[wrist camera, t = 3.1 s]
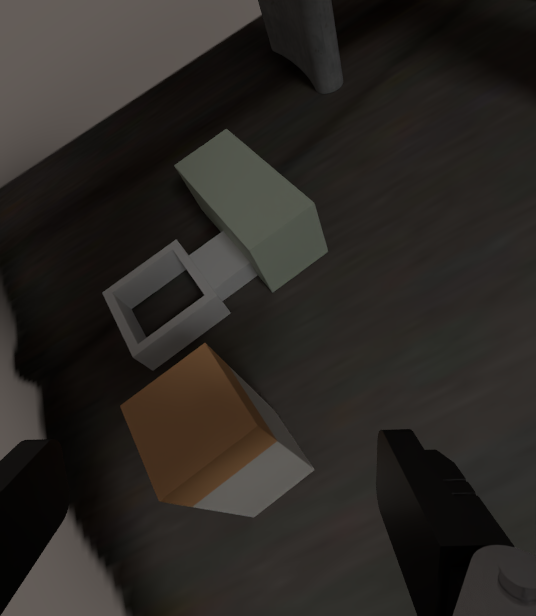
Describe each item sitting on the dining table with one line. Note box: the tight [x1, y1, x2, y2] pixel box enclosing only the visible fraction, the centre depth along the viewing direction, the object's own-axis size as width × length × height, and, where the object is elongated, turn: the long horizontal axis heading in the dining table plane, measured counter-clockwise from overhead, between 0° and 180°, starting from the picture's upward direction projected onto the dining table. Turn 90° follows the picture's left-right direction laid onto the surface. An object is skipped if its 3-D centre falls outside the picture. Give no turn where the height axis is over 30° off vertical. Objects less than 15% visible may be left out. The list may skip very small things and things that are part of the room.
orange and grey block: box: [120, 343, 315, 517], centre depth 23 cm, size 5×5×12 cm
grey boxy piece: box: [103, 129, 328, 371], centre depth 36 cm, size 18×14×6 cm
